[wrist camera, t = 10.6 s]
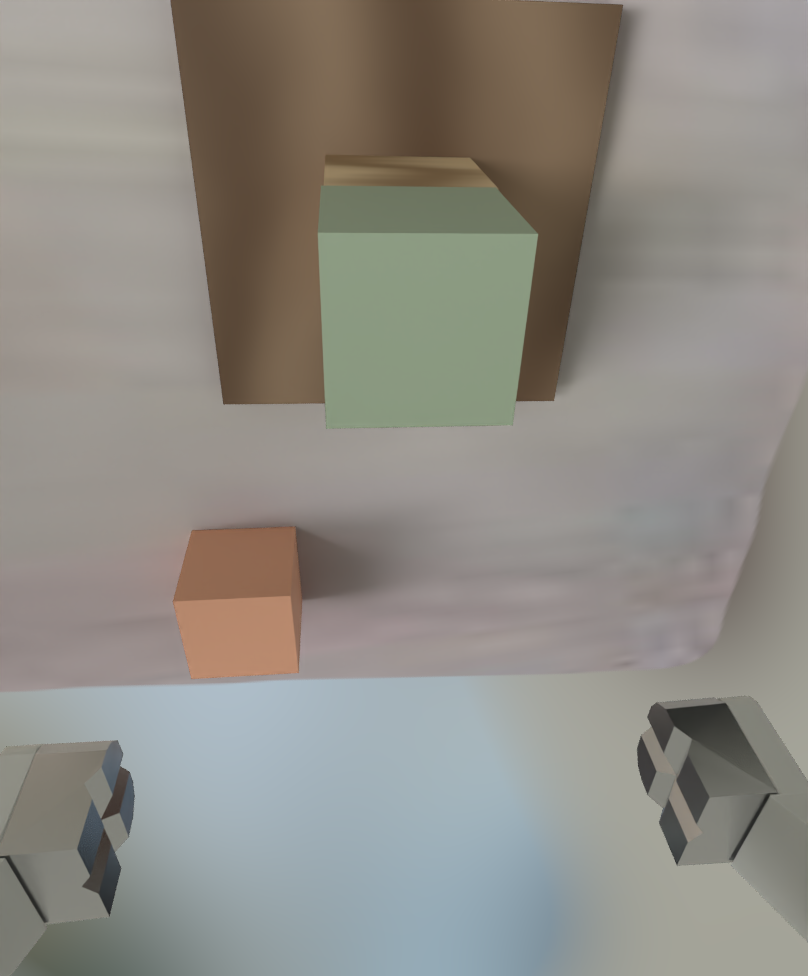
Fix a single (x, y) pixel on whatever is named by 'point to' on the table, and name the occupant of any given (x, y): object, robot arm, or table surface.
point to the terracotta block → (240, 602)
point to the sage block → (422, 305)
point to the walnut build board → (380, 151)
